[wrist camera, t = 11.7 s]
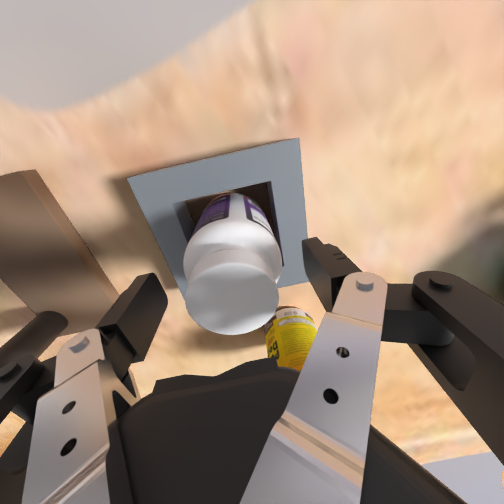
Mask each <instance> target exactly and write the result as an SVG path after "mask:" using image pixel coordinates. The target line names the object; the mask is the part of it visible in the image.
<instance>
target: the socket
mask: <svg viewBox="0 0 504 504" xmlns="http://www.w3.org/2000/svg"><path fill="white" fill-rule="evenodd" d="M127 180H128V182H129V184H130V186H131V189H132V191H133V193H134V195H135V197H136V199H137V201H138V203H139V205H140V207H141V210H142V212H143V214H144V216H145V218H146V220H147V222H148V224H149V226H150V228H151V231H152V233H153V235H154V237H155V239H156V241H157V243H158V245H159V247H160V249H161V252H162V254H163V256H164V258H165V260H166V262H167V264H168V266H169V268H170V270H171V273H172V275H173V277H174V279H175V281H176V283H177V285H178V287H179V289H180V291H181V294H182V296H183V298H184V300H185V295H186V291H187V287H188V284H189V283H188V281H187V279H186V277H185V273H184V267H183V260H184V254H185V251H186V248H187V245H188V242H189V240H190V238H191V236H192V234H193V232H194V230H195V226H194V224H193V221H192V218H191V215H190V213H189V210H188V207H187V204H186V202H185V200H189V199H193V198H197V197H202V196H206V195H211V194H215V193H219V192H224V191H228V190H233V189H237V188H241V187H246V186H250V185H254V184H259V183H263V182H266V183H267V189H268V195H269V201H270V207H271V213H272V219H273V225H274V231H275V237H276V241H277V243H278V246H279V249H280V252H281V257H282V270H281V274H280V277H279V280H278V282H277V283H276V285H277V288H281V287H286V286H291V285H295V284H300V283H305V282H310V281H309V279H308V277H307V275H306V273H305V269H304V262H303V253H302V240H304V239H308V235H307V223H306V211H305V199H304V187H303V175H302V163H301V151H300V140H299V138H293V139H286V140H282V141H278V142H273V143H269V144H265V145H260V146H256V147H252V148H248V149H243V150H239V151H235V152H231V153H226V154H222V155H218V156H214V157H209V158H205V159H201V160H197V161H192V162H188V163H184V164H179V165H175V166H171V167H167V168H162V169H158V170H154V171H150V172H145V173H142V174H139V175H136V176H132V177H129V178H127Z"/></svg>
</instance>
